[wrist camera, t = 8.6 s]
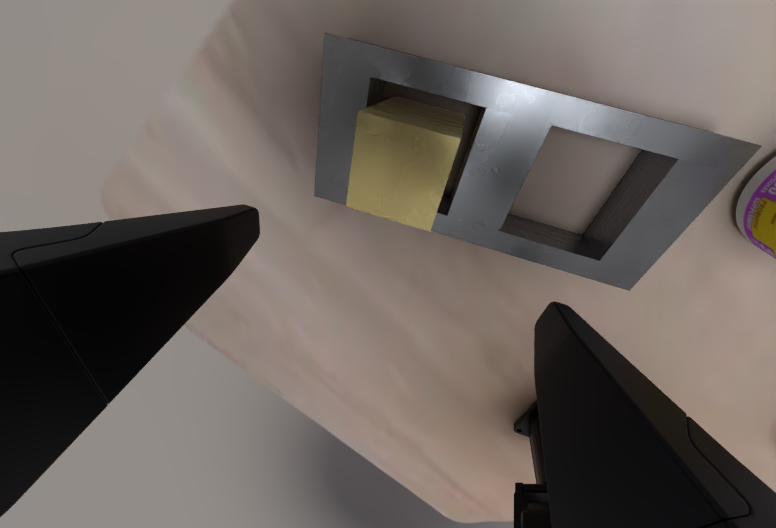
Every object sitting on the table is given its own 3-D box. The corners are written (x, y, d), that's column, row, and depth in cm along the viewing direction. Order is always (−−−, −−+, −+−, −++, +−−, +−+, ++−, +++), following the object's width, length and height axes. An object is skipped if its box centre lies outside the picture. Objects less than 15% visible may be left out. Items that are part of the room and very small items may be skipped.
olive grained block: (442, 182, 19) (430, 231, 13) (383, 165, 19) (345, 206, 14) (464, 114, 17) (461, 139, 11) (396, 96, 17) (358, 111, 11)
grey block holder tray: (609, 262, 19) (629, 290, 17) (333, 180, 21) (314, 195, 18) (713, 132, 15) (761, 145, 12) (347, 38, 16) (324, 32, 13)
